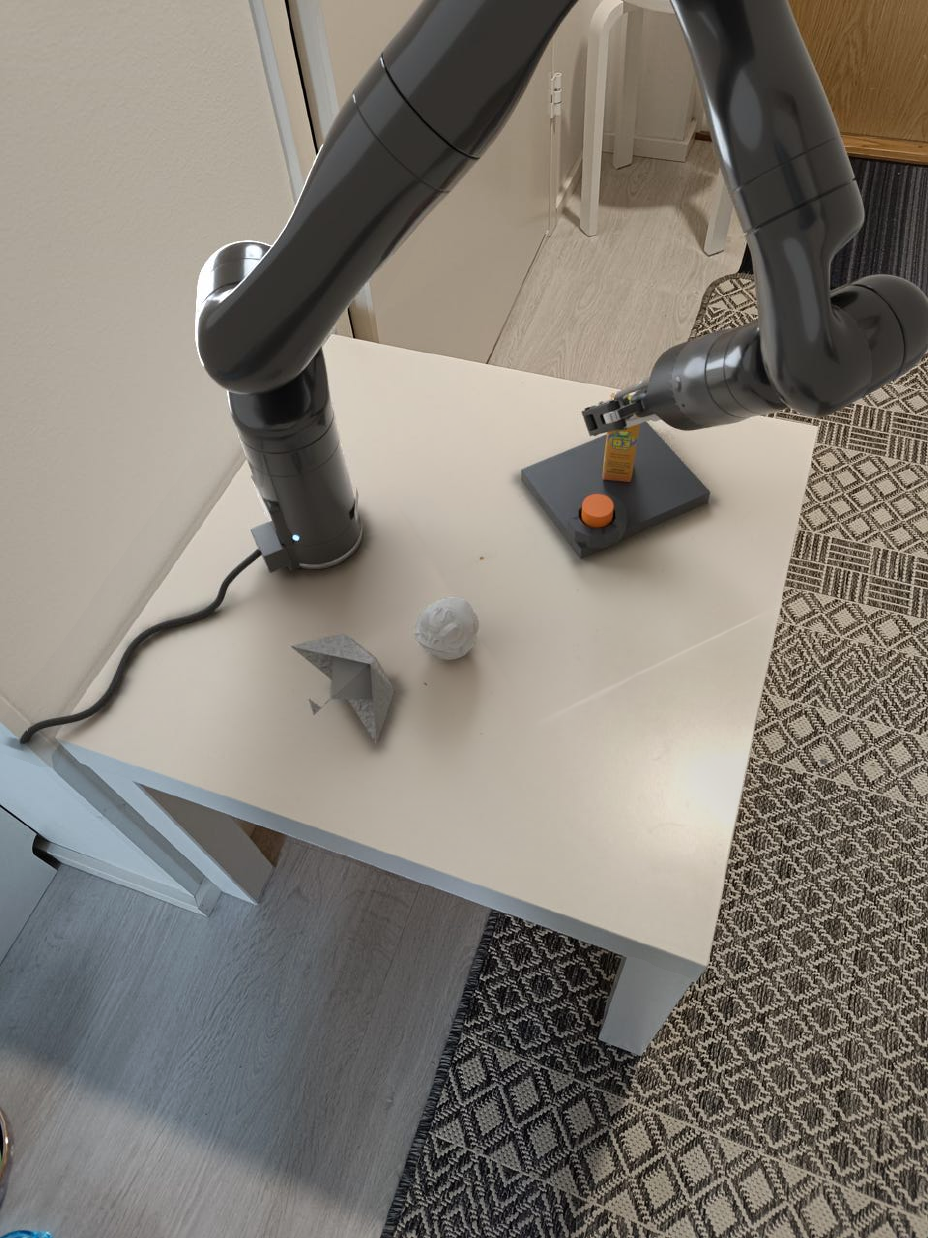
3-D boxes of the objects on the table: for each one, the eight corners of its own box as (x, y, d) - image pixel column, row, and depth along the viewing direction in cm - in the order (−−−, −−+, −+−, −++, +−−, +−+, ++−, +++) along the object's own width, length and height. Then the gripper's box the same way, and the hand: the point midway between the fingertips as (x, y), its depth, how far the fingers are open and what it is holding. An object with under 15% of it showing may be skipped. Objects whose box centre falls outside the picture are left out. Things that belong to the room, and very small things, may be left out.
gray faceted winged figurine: (432, 691, 85) (374, 753, 79) (400, 712, 90) (343, 772, 84) (347, 596, 84) (282, 651, 78) (319, 623, 89) (255, 677, 83)
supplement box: (600, 481, 98) (607, 412, 90) (604, 459, 100) (611, 389, 92) (631, 485, 98) (641, 415, 89) (634, 462, 100) (644, 392, 91)
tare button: (591, 532, 92) (592, 521, 91) (575, 512, 94) (576, 500, 93) (618, 521, 93) (619, 509, 92) (602, 500, 95) (603, 489, 93)
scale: (585, 566, 94) (586, 545, 91) (520, 480, 101) (520, 457, 98) (713, 509, 97) (719, 486, 94) (642, 429, 105) (645, 406, 102)
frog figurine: (405, 665, 88) (396, 626, 83) (439, 612, 92) (433, 571, 86) (460, 689, 87) (455, 650, 81) (492, 634, 90) (490, 593, 84)
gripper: (655, 454, 74) (578, 464, 90) (796, 393, 77) (697, 413, 93) (626, 366, 73) (552, 392, 88) (770, 308, 76) (674, 343, 91)
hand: (626, 403), depth 91 cm, fingers open, 8 cm apart
